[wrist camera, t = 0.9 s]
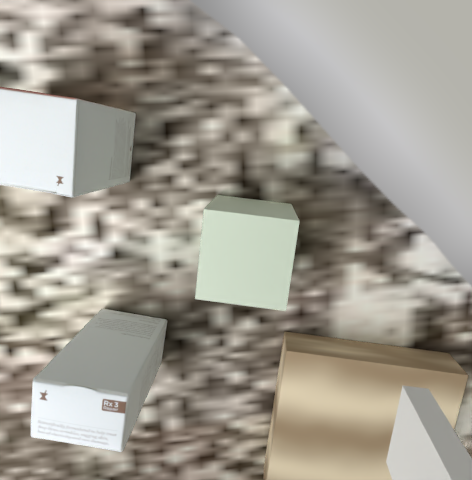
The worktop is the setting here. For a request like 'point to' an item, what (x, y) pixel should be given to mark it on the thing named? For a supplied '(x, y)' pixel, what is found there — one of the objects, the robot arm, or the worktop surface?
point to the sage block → (247, 252)
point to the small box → (63, 143)
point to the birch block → (348, 405)
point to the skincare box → (99, 381)
